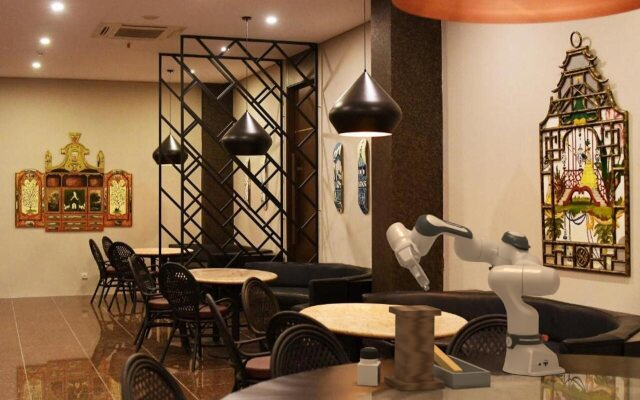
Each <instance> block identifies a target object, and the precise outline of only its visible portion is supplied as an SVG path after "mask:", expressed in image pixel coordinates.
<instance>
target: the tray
mask: <svg viewBox="0 0 640 400" xmlns="http://www.w3.org/2000/svg"><path fill="white" fill-rule="evenodd" d="M447 356H448V357H449V358H450V359H451V360H452V361H453V362H454V363H455V364H456V365H457V366H458V367H460V368H461V369H462V373H453V372H450V371H448V370H446V369H444V368H442V367H441V366H440V365H439V364H438V363H437V362H436V361H435V360H434V377H435V378H437V379H439V380H441V381H443V382H445V387H448V388H449V389H452V390H461V389H474V388H475V389H476V388H490V387H491V385H492V384H491V382H492V381H491V378H492V376H491V374H492V372H491V371H489V370H487V369H485V368H482V367H480V366H477V365H474V364H473V363H469V362H468V361H465V360H463V359H460V358H457V357H455V356H453V355H447Z"/></svg>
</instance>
